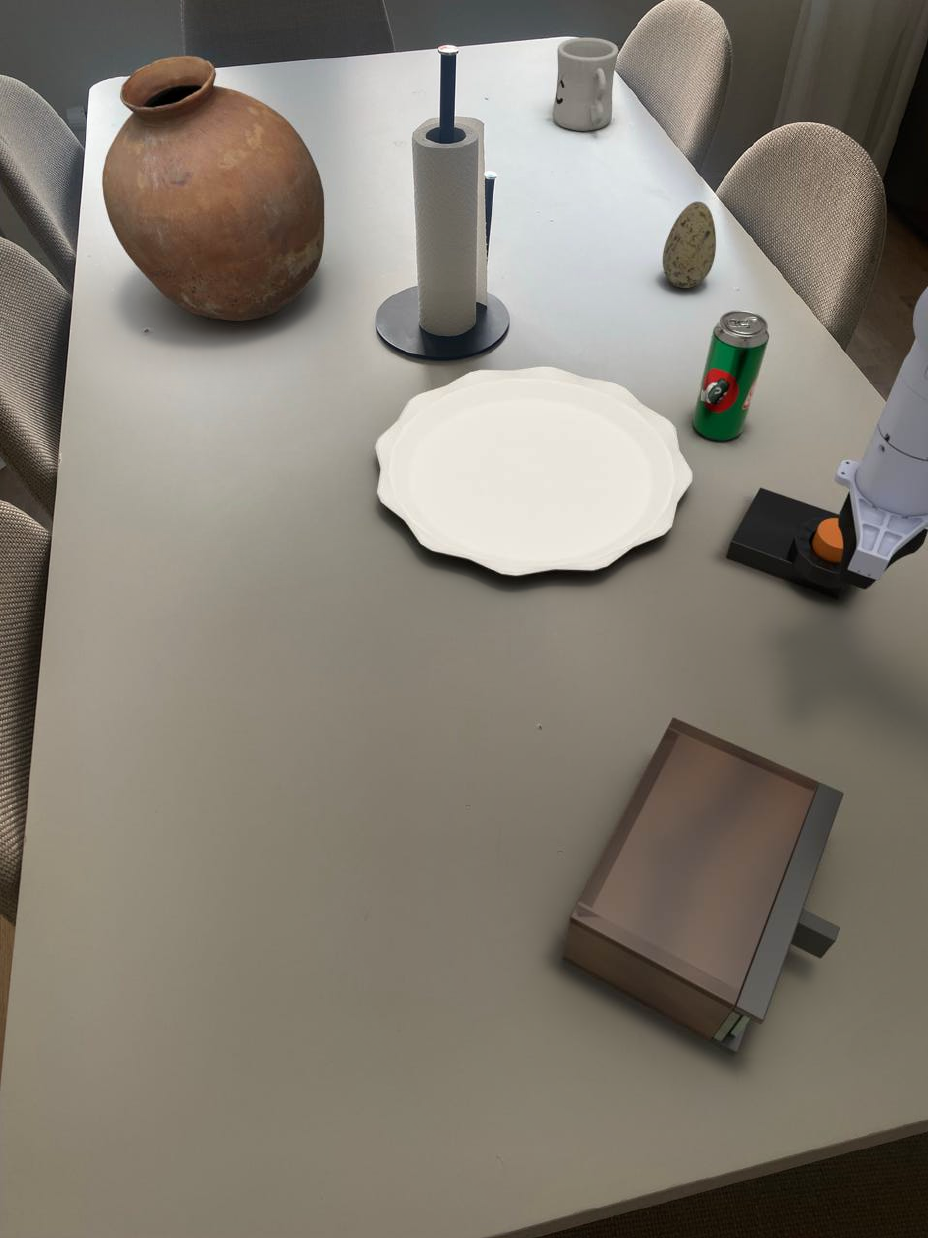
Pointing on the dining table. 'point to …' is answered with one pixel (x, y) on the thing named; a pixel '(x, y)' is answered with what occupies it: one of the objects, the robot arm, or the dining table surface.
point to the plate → (532, 471)
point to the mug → (585, 83)
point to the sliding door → (805, 946)
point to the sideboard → (703, 883)
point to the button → (828, 541)
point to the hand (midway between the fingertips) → (854, 579)
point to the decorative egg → (690, 246)
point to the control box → (785, 543)
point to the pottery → (212, 193)
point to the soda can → (730, 374)
